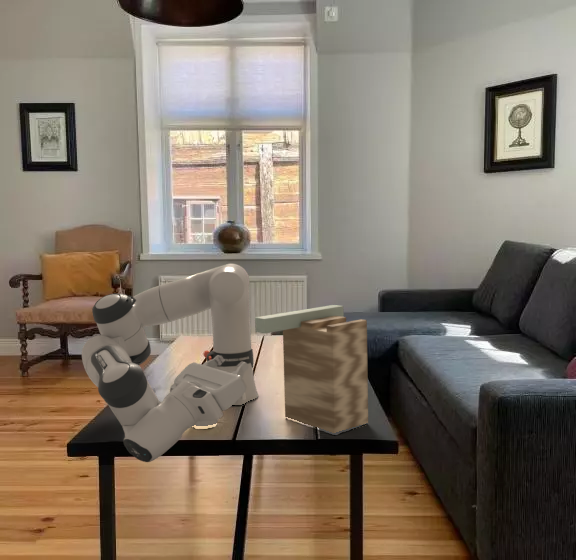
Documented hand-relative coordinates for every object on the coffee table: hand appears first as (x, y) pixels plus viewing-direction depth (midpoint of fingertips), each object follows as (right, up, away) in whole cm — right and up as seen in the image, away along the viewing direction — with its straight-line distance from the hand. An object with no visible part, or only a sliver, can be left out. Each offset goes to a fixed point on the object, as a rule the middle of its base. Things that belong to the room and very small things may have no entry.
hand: (233, 360), depth 143 cm
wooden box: (+22, -18, +15) cm, 32 cm away
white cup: (-9, -19, +14) cm, 25 cm away
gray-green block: (+16, +7, +14) cm, 22 cm away
